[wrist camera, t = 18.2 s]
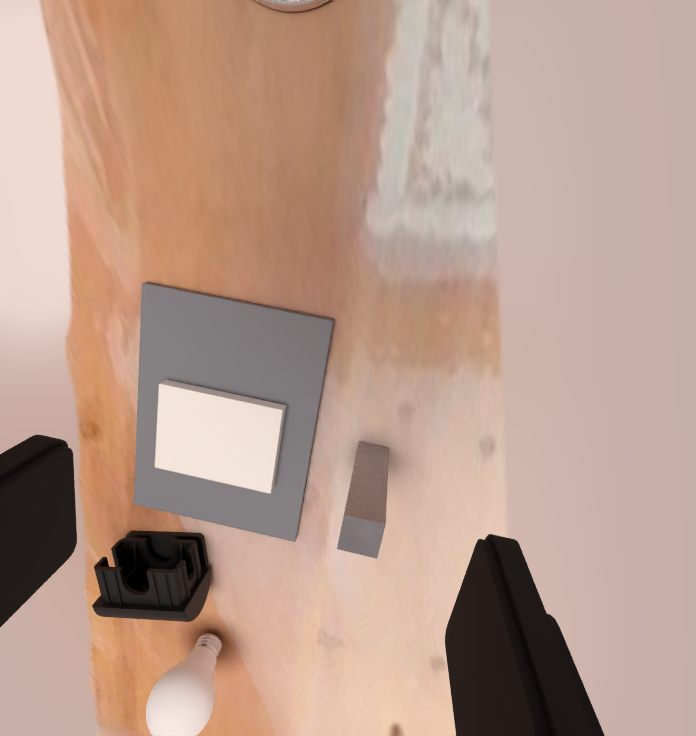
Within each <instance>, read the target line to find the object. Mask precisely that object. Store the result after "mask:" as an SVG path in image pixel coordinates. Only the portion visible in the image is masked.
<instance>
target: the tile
mask: <svg viewBox="0 0 696 736" xmlns="http://www.w3.org/2000/svg"><path fill="white" fill-rule="evenodd" d="M285 410H286V405H283V404H278V403H273V402H269V401H264V400H259V399H255V398H250V397H245V396H241V395H236V394H231V393H227V392H222V391H217V390H213V389H208V388H203V387H199V386H194V385H189V384H185V383H180V382H175V381H171V380H165V381H163V382H161V383H159V393H158V413H157V432H156V452H155V468H160V469H164V470H169V471H173V472H177V473H182V474H186V475H191V476H195V477H199V478H204V479H208V480H213V481H217V482H221V483H226V484H230V485H235V486H239V487H243V488H248V489H252V490H256V491H261V492H265V493H270V494H271V492H272V490H273V488H274V485H275V478H276V471H277V465H278V458H279V451H280V444H281V437H282V431H283V424H284V417H285Z"/></svg>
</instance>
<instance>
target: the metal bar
mask: <svg viewBox="0 0 696 736" xmlns="http://www.w3.org/2000/svg"><path fill="white" fill-rule="evenodd" d="M388 457H389V448H387V447H382V446H378V445H373V444H369V443H364V442H360V441H359V444H358V449H357V454H356V459H355V463H354V468H353V473H352V478H351V483H350V488H349V493H348V497H347V502H346V507H345V512H344V517H343V522H342V527H341V532H340V537H339V542H338V547H337V549H339V550H344V551H348V552H352V553H356V554H360V555H365V556H369V557H373V558H377V557H378V553H379V549H380V544H381V540H382V536H383V532H384V528H385V524H386V502H387V480H388Z"/></svg>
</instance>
